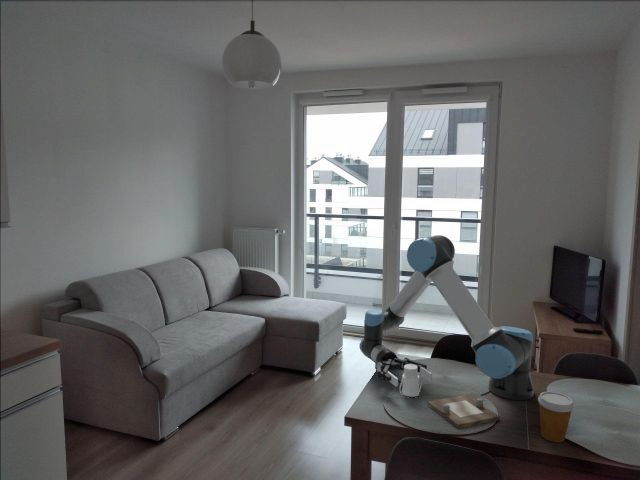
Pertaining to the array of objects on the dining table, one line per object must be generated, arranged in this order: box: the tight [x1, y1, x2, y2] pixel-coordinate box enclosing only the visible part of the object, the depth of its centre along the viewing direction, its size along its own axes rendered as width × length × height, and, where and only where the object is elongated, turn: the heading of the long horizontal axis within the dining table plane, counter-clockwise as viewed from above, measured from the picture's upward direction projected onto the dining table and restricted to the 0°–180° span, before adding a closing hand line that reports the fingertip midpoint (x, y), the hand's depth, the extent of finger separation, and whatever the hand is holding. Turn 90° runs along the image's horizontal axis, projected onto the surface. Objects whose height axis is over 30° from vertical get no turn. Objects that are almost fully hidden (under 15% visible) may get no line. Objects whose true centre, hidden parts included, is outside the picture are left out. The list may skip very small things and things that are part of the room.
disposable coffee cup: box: [537, 391, 575, 443], centre depth 140 cm, size 10×10×12 cm
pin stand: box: [427, 394, 501, 429], centre depth 155 cm, size 16×16×3 cm
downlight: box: [398, 364, 423, 396], centre depth 167 cm, size 8×7×10 cm
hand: (414, 380), depth 165 cm, fingers open, 13 cm apart
